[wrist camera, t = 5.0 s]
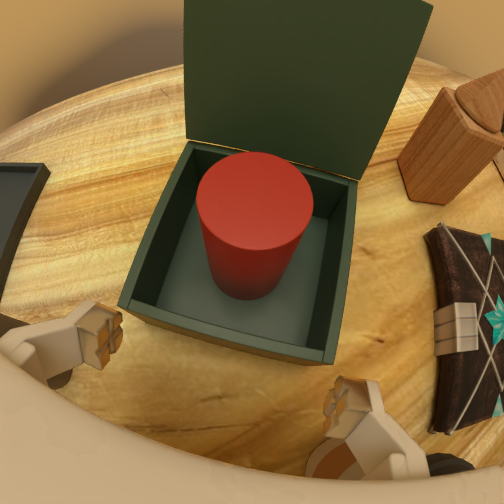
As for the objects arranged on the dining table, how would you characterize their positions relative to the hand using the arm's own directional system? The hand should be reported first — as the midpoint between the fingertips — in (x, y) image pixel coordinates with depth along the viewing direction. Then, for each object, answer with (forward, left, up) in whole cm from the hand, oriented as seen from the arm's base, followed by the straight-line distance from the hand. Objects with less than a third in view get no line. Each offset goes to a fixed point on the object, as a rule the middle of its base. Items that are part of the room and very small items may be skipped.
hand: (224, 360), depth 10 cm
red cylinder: (+9, 0, -14) cm, 16 cm away
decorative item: (+24, -20, -15) cm, 34 cm away
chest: (+9, 0, -15) cm, 17 cm away
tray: (+8, +34, -15) cm, 38 cm away
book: (+6, -28, -15) cm, 32 cm away
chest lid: (+17, -1, 0) cm, 17 cm away
